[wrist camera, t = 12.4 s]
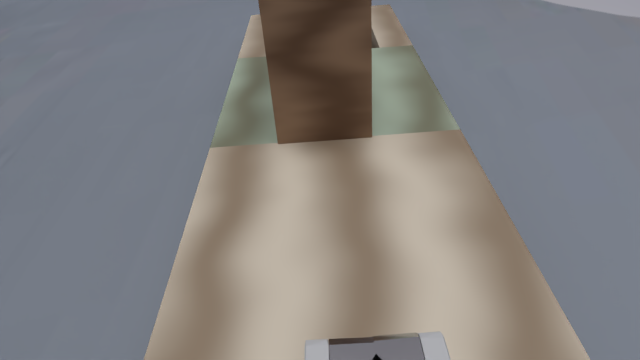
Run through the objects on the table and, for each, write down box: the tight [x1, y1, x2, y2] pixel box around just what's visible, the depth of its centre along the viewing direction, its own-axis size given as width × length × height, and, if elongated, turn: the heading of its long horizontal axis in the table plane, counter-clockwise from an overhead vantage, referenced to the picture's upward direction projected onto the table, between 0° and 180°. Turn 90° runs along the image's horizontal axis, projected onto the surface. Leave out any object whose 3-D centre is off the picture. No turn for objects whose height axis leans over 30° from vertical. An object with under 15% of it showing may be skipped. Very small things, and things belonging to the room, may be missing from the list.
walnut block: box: [258, 0, 372, 144], centre depth 33 cm, size 6×14×12 cm, turn 2°
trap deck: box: [144, 5, 590, 360], centre depth 30 cm, size 16×62×2 cm, turn 2°
